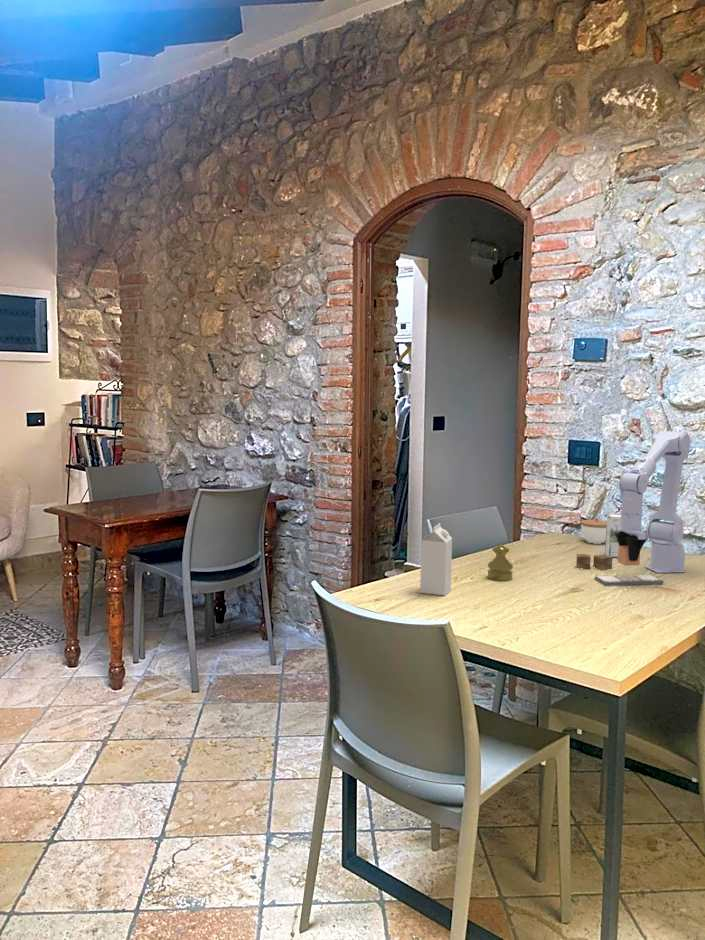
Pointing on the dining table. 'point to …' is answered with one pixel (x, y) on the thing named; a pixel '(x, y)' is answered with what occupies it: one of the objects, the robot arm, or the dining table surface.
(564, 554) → the dining table surface
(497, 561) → the olive green tiered piece
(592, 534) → the lidded jar
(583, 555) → the walnut block
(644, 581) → the board
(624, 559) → the orange brown block
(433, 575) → the milk carton
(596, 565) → the walnut block
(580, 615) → the dining table surface
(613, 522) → the syrup box
